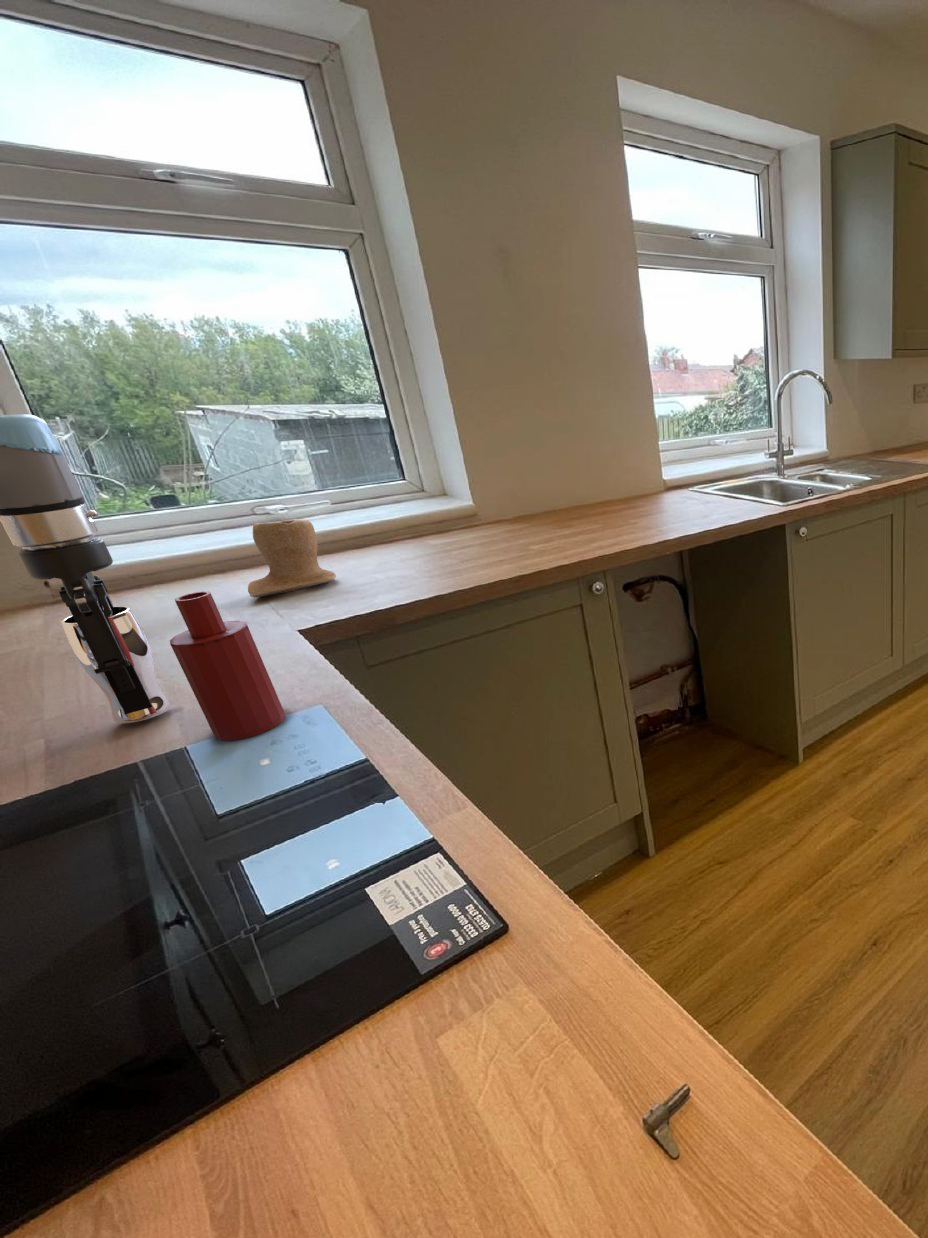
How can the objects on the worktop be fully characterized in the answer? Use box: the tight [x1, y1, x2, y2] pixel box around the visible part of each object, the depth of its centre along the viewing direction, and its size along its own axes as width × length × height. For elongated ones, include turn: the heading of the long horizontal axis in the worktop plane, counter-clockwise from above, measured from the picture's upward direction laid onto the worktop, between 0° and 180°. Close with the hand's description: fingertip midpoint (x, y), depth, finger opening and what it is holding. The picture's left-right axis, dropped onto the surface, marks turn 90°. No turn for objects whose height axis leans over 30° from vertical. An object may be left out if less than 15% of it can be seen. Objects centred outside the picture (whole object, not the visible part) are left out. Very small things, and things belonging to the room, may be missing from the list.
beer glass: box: [60, 605, 174, 725], centre depth 92 cm, size 7×7×15 cm
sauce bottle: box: [169, 590, 286, 742], centre depth 88 cm, size 8×8×19 cm
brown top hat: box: [247, 518, 337, 598], centre depth 144 cm, size 15×12×15 cm
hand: (138, 701), depth 95 cm, fingers closed on beer glass, 6 cm apart
